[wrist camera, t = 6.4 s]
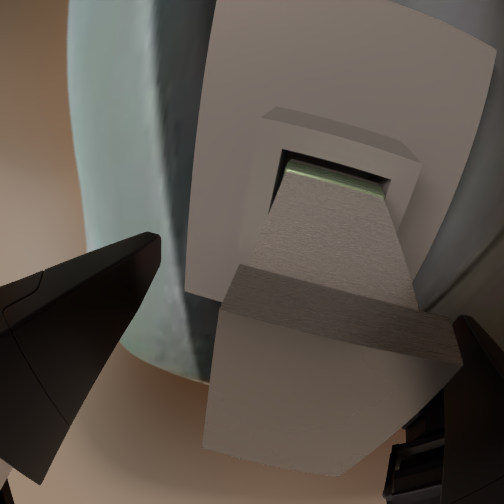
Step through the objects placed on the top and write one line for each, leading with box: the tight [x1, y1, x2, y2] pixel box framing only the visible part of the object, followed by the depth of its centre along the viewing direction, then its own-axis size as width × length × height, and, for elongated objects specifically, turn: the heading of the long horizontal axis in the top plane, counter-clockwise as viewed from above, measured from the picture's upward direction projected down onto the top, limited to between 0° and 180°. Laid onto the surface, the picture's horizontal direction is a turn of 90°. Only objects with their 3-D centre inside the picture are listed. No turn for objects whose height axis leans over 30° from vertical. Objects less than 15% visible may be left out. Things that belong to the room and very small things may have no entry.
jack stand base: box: [185, 0, 497, 302], centre depth 15 cm, size 14×20×6 cm
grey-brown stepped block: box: [202, 159, 463, 477], centre depth 9 cm, size 4×5×9 cm
